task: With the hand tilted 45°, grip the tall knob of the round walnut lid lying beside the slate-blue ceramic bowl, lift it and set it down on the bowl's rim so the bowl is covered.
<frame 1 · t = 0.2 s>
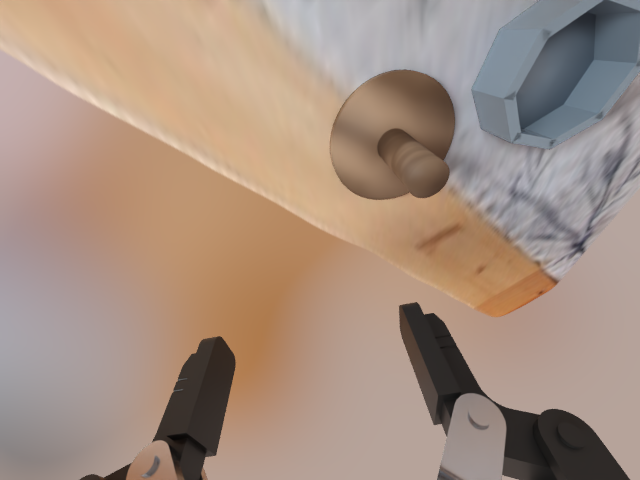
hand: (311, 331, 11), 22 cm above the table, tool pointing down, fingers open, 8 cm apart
walnut lid: (389, 141, 30), on the table
ceramic bowl: (532, 72, 27), on the table
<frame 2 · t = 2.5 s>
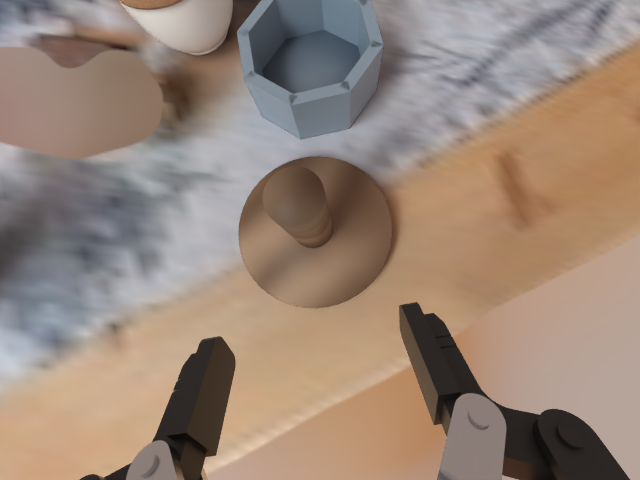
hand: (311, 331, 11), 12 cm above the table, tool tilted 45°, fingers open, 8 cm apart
walnut lid: (314, 231, 24), on the table
ceramic bowl: (314, 82, 27), on the table
lidded jar: (203, 34, 30), on the table
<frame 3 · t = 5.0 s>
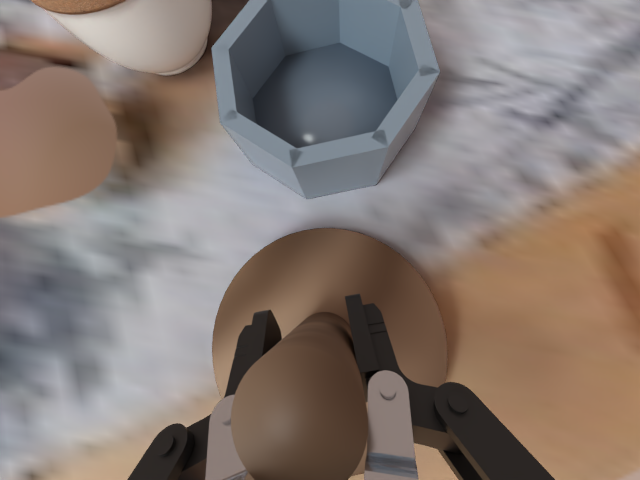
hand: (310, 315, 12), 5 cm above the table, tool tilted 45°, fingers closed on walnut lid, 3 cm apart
walnut lid: (326, 338, 16), on the table, touching gripper
ceramic bowl: (325, 116, 19), on the table
lidded jar: (175, 46, 22), on the table
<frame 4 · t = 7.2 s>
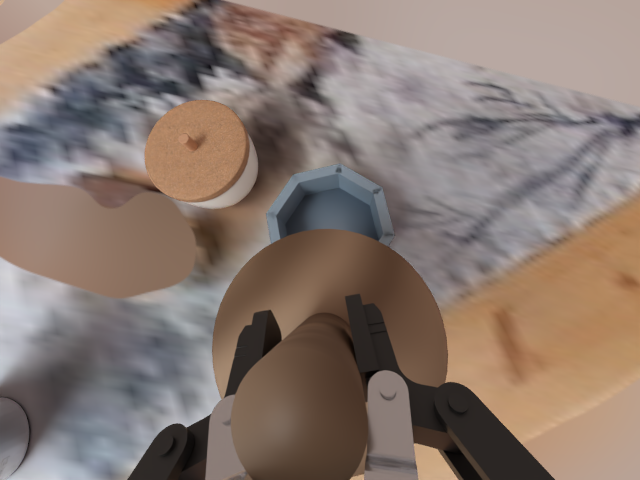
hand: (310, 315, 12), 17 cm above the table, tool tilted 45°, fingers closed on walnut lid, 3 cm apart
walnut lid: (326, 339, 16), point 13 cm above the table, touching gripper
ceramic bowl: (331, 233, 30), on the table
lidded jar: (230, 179, 33), on the table
when the fingers open (11 cm above the table, at t = 9.4 s): walnut lid drops 1 cm, resting on ceramic bowl.
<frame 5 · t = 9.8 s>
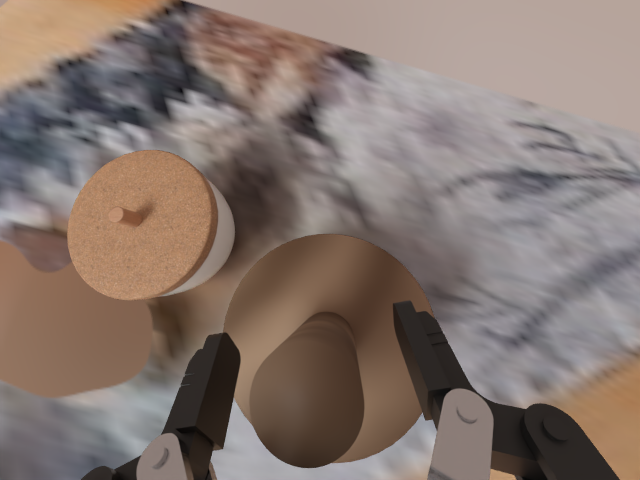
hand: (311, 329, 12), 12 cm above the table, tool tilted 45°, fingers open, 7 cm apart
walnut lid: (327, 336, 18), point 5 cm above the table, touching ceramic bowl
lidded jar: (200, 240, 25), on the table
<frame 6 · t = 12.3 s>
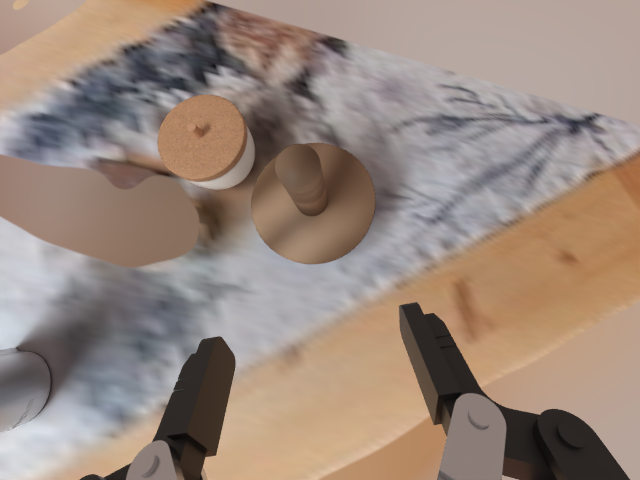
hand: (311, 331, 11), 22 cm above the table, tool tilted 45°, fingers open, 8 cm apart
walnut lid: (313, 204, 30), point 5 cm above the table, touching ceramic bowl
lidded jar: (230, 165, 38), on the table
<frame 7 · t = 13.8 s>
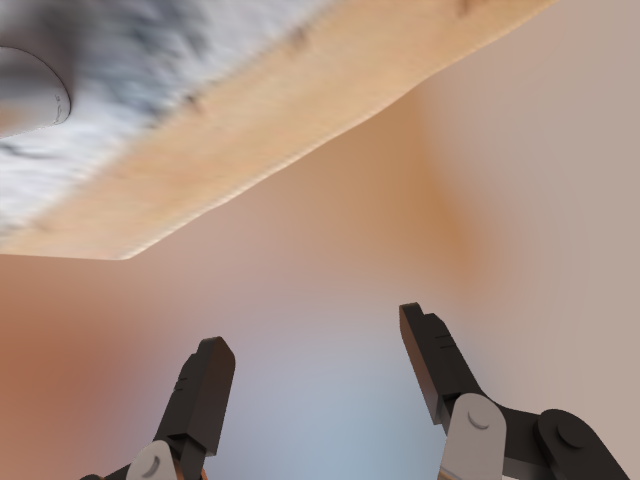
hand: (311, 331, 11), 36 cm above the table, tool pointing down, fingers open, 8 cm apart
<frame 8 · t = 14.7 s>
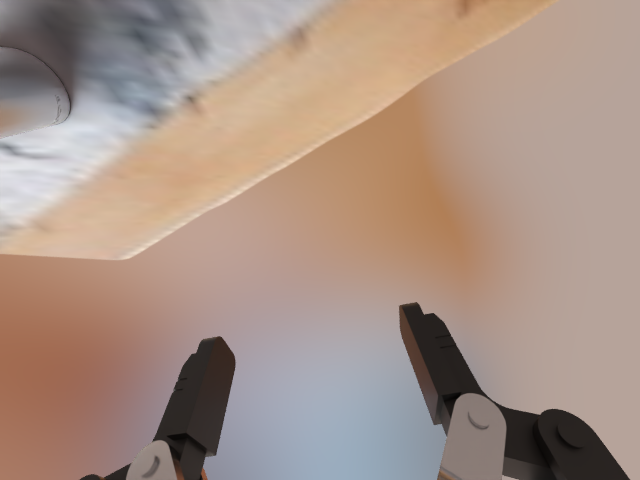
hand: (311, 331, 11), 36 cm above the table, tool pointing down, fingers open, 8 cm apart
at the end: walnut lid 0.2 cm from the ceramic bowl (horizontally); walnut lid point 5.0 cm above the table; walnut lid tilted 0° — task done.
